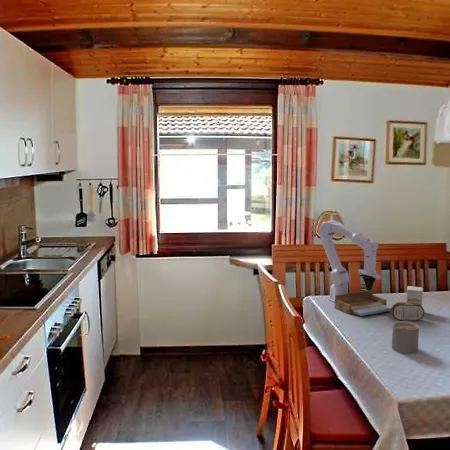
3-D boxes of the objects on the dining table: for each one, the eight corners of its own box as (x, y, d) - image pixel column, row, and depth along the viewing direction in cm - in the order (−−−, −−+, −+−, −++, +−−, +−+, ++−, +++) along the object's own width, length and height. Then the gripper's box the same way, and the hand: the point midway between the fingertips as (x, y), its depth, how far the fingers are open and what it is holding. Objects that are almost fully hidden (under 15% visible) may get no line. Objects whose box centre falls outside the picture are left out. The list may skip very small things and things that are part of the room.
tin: (422, 319, 239) (423, 302, 238) (424, 321, 236) (425, 304, 235) (390, 318, 241) (391, 301, 240) (392, 320, 238) (392, 303, 237)
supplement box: (405, 314, 247) (406, 289, 246) (406, 309, 254) (407, 285, 252) (421, 315, 245) (422, 290, 243) (421, 311, 252) (422, 287, 250)
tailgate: (352, 310, 247) (361, 313, 242) (384, 305, 255) (392, 308, 250) (352, 313, 247) (360, 316, 242) (384, 308, 256) (392, 311, 250)
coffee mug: (420, 354, 198) (422, 329, 196) (395, 353, 199) (396, 329, 197) (411, 341, 211) (412, 318, 210) (387, 340, 212) (388, 318, 211)
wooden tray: (334, 308, 257) (335, 294, 256) (370, 302, 267) (371, 289, 266) (349, 314, 247) (349, 300, 246) (386, 308, 257) (386, 295, 256)
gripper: (386, 266, 250) (384, 292, 251) (366, 260, 263) (365, 285, 264) (375, 267, 247) (373, 294, 248) (355, 261, 260) (354, 287, 262)
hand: (368, 290), depth 256 cm, fingers closed
